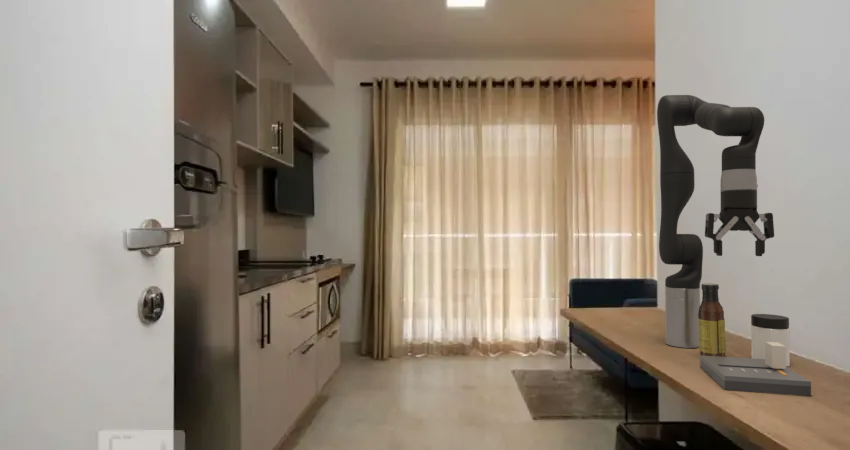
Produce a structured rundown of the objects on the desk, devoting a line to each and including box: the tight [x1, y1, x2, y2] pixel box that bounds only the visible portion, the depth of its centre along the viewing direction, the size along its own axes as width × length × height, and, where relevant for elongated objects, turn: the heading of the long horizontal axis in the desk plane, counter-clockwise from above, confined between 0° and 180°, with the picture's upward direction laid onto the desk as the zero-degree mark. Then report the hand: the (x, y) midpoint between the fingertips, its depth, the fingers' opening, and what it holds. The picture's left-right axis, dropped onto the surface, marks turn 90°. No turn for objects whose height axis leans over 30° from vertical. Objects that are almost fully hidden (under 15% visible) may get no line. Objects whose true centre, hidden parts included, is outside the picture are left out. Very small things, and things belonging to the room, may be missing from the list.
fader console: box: [699, 354, 812, 397], centre depth 113 cm, size 18×16×3 cm
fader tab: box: [765, 342, 786, 370], centre depth 112 cm, size 4×3×6 cm, turn 166°
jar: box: [750, 313, 791, 368], centre depth 129 cm, size 9×8×12 cm
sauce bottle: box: [698, 282, 727, 357], centre depth 134 cm, size 7×6×20 cm
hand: (738, 255), depth 120 cm, fingers open, 8 cm apart
